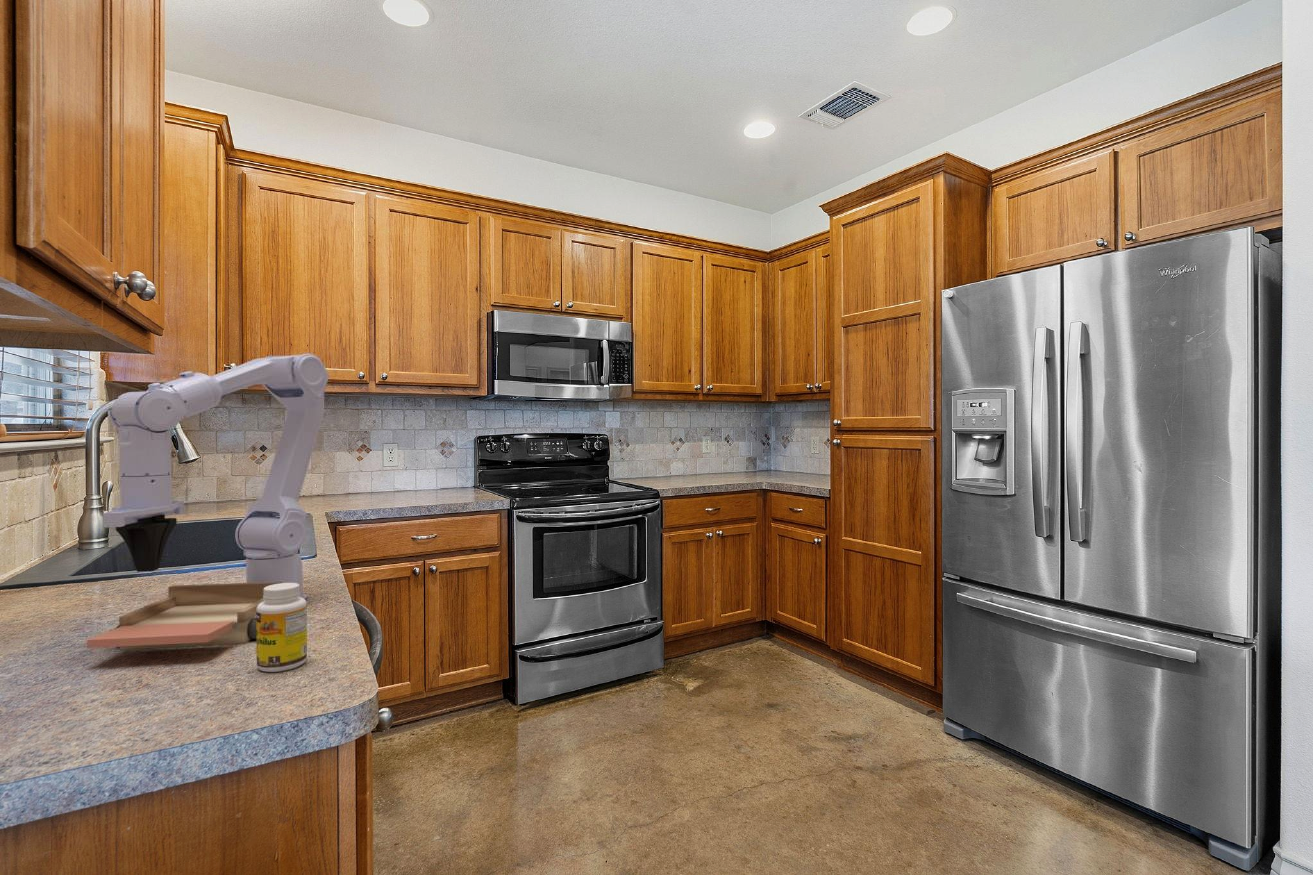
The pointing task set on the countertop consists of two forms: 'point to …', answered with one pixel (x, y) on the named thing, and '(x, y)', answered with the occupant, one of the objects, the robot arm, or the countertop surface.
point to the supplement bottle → (281, 628)
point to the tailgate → (161, 634)
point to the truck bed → (204, 610)
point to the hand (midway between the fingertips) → (147, 570)
